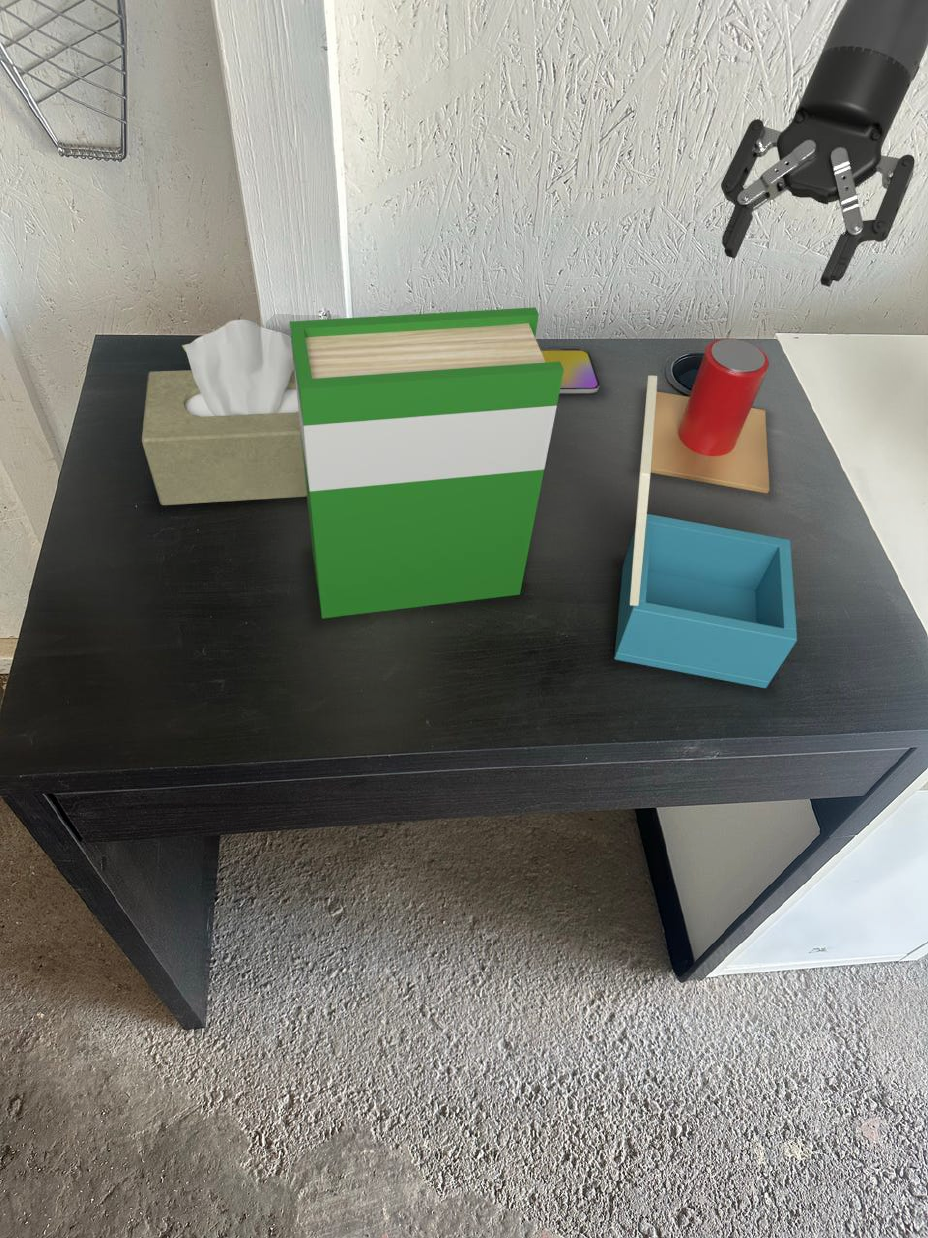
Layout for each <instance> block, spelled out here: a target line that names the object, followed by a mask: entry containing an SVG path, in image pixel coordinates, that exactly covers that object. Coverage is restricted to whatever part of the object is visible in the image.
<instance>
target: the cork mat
mask: <svg viewBox="0 0 928 1238" xmlns="http://www.w3.org/2000/svg"><path fill="white" fill-rule="evenodd" d="M689 397H690V396H687V395H680V394H676V393H675V394H674V393H669V392H663V391H656V405H655V419H654V433H653V446H652V460H651V474H656V475H662V476H668V477H673V478H679V479H685V480H690V481H695V482H701V483H705V484H712V485H717V486H722V487H728V488H729V487H730V488H732V489H733V488H734V489H739V490H746V491H749V492H750V491H751V492H756V493H761V494H768V493H769V492H770V476H769V475H770V473H769V455H768V436H767V419H766V417H767V415H766V410H765V409H760V408H755V407H751V410H750V412H749V414H748V417H747V419H746V421H745V424H744V426H743V429H742V431H741V433H740V436H739V438H738V440H737V443H736V445H735V447H734V449H733V450H732V451H731V452H729V453H727V454H725V455H721V456H707V455H702V454H699V453H697V452H694V451H692V450H691V449H689V448H688V447H687V446H685V445H684V444H683V443H682V441H681V440H680V438H679V435H678V429H679V426H680V423H681V420H682V417H683V414H684V411H685V408H686V405H687V403H688V400H689Z"/></svg>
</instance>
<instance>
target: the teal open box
mask: <svg viewBox="0 0 928 1238" xmlns="http://www.w3.org/2000/svg"><path fill="white" fill-rule="evenodd" d="M634 541H635V530H634V531H633V534H632V536H631V540H630V543H629V546H628V549H627V552H626V554H625V555H626V556H625V558H624V561H623V565H622V572H621V580H620V581H621V583H620V591H619V592H620V593H619V604H618V615H617V625H616V636H615V648H614V657H613V658H614V660H616V661H621V662H627V663H631V664H637V665H641V666H642V665H643V666H647V667H653V668H658V669H663V670H668V671H673V672H678V673H683V674H687V675H688V674H689V675H692V676H693V675H694V676H700V677H704V678H710V679H714V680H720V681H725V682H730V683H735V684H741V685H746V686H752V687H757V688H762V689H767V688H768V686H769V685H770V682H771V681H772V680H773V678H774V677H775V675H776V674H777V672H778V670H779V669H780V668H781V666H782V664H783V663H784V661H785V660H786V658H787V657H788V655H789V653H790V652H791V650H792V649H793V647H795V644H796V643H797V642H798V635H797V634H798V633H797V632H798V631H797V617H796V604H795V603H796V602H795V589H794V577H793V575H794V574H793V563H792V547H791V545H792V544H791V539H787V538H782V537H776V536H771V535H765V534H760V533H755V532H748V531H743V530H737V529H732V528H726V527H721V526H716V525H711V524H703V523H700V522H694V521H689V520H683V519H678V518H673V517H667V516H661V515H655V514H650V513H647V518H646V529H645V540H644V551H643V562H642V573H641V584H640V595H639V605H638V606H632V605H630V592H631V579H632V567H633V554H634Z"/></svg>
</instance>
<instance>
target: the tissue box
mask: <svg viewBox="0 0 928 1238" xmlns="http://www.w3.org/2000/svg"><path fill="white" fill-rule="evenodd" d="M181 346H182V348H183V350H184V352H185V353H186V356H187V359H188V363H189V366H190V369H189V370H187V369H186V370H161V371H149V372H148V373H147V380H146V393H145V403H144V412H143V413H144V414H143V424H142V432H141V433H142V436H141V443H142V446H143V451H144V454H145V458H146V461H147V465H148V467H149V471H150V474H151V477H152V480H153V484H154V487H155V490H156V494H157V498H158V501H159V504H160V505H161V506H174V505H188V504H203V503H204V504H205V503H207V504H209V503H223V502H236V501H237V502H238V501H239V502H240V501H254V500H271V499H286V498H287V499H290V498H304V497H305V498H307V491H306V481H305V471H304V461H303V451H302V441H301V431H300V421H299V411H298V401H297V391H296V381H295V371H294V361H293V351H292V341H291V335H288V334H286V333H284V332H281V331H277V330H272V329H269V328H266V327H261V326H260V325H258V324H257V323H256V322H254V321H252V320H248V319H234V320H230V321H228V322H227V323H226V324H224V325H223V326H221V327H219V328H217V329H215V330H214V331H211V332H208V333H206V334H203V335H201V336H199V337H197V338H196V339H194V340H193V341H191V342H190V343H187V344H182V345H181Z"/></svg>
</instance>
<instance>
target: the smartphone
mask: <svg viewBox="0 0 928 1238" xmlns="http://www.w3.org/2000/svg"><path fill="white" fill-rule="evenodd" d="M540 350H541V353H542V355H543V357H544V359H545V362H561V364H562V367H563V369H564V372H563V377H562V382H561V387H560V392H559V394H595V393H597V392H598V391H599V389H600V386H601V385H600V384H601V383H600V380H599V378H598V374H597V371H596V369H595V366H594V362H593V359H592V356H591V354H590V353H589V352H588V351H587V350H585V349H572V348H571V349H570V348H569V349H567V348H566V349H557V348H556V349H553V348H550V349H549V348H548V349H545V348H544V349H543V348H540Z"/></svg>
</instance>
